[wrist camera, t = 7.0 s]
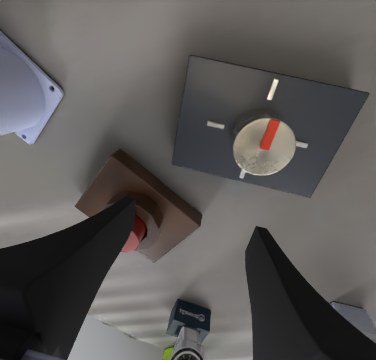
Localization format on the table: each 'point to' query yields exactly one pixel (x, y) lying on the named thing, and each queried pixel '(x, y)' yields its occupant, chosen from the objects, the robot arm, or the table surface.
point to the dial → (262, 142)
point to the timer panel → (261, 99)
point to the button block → (142, 204)
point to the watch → (188, 330)
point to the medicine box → (357, 319)
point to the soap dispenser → (167, 353)
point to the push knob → (135, 236)
